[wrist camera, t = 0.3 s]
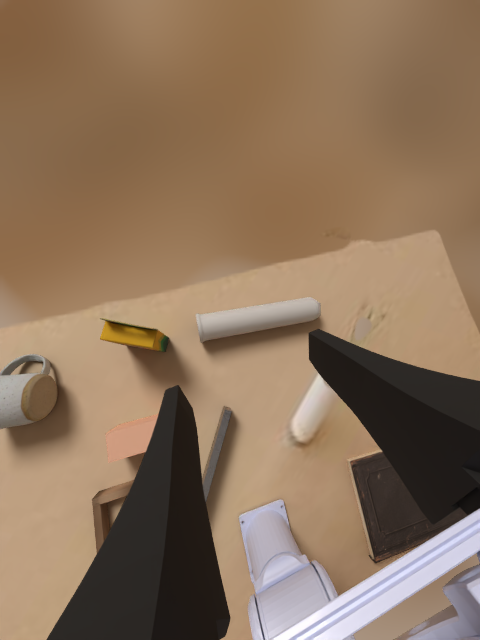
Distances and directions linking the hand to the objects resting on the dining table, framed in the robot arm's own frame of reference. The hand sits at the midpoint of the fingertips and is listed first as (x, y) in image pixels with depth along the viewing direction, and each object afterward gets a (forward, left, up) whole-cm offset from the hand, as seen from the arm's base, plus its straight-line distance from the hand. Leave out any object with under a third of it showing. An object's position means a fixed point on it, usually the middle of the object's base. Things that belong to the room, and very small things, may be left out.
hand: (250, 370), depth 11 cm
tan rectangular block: (-7, +14, -30) cm, 34 cm away
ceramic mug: (+4, +31, -30) cm, 43 cm away
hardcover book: (-31, -31, -30) cm, 53 cm away
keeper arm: (-15, +5, -29) cm, 34 cm away
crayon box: (+8, +12, -30) cm, 33 cm away
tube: (+7, -10, -30) cm, 33 cm away
